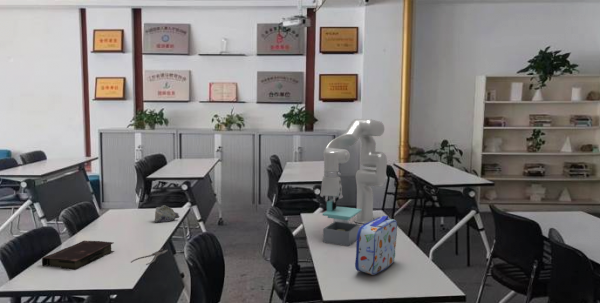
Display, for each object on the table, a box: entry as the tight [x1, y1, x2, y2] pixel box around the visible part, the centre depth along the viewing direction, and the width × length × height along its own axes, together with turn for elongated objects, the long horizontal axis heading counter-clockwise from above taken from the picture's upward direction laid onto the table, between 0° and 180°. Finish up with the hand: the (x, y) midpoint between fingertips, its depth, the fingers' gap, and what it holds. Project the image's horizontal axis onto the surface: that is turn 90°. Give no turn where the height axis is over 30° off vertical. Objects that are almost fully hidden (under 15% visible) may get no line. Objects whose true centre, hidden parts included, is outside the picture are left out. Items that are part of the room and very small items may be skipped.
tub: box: [322, 221, 361, 247], centre depth 235 cm, size 16×14×7 cm
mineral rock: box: [154, 204, 180, 224], centre depth 270 cm, size 13×11×10 cm
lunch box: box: [354, 215, 398, 276], centre depth 196 cm, size 28×10×22 cm, turn 148°
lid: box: [322, 198, 362, 220], centre depth 234 cm, size 17×15×8 cm
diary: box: [41, 240, 115, 271], centre depth 207 cm, size 19×25×5 cm
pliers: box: [130, 248, 168, 266], centre depth 209 cm, size 10×1×20 cm
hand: (331, 208), depth 237 cm, fingers closed on lid, 2 cm apart
